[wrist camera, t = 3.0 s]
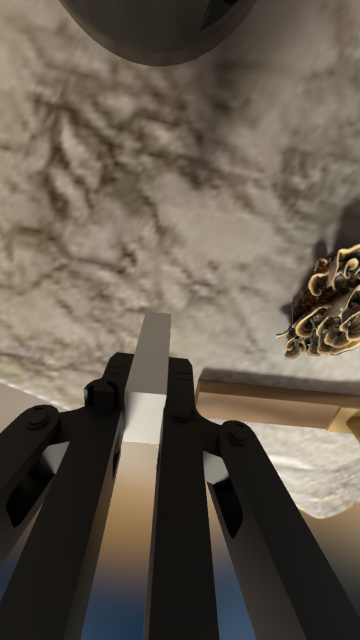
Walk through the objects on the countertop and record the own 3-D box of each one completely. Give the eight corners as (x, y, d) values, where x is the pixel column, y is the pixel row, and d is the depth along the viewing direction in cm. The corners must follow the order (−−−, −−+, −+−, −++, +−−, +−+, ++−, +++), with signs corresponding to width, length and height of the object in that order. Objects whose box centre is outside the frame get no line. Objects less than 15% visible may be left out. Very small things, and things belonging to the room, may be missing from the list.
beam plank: (198, 379, 29) (203, 432, 23) (432, 403, 31) (497, 458, 25) (193, 404, 31) (196, 459, 25) (414, 425, 33) (469, 481, 27)
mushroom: (325, 231, 21) (356, 241, 18) (394, 258, 23) (437, 273, 19) (260, 339, 27) (273, 365, 23) (318, 357, 28) (340, 383, 24)
